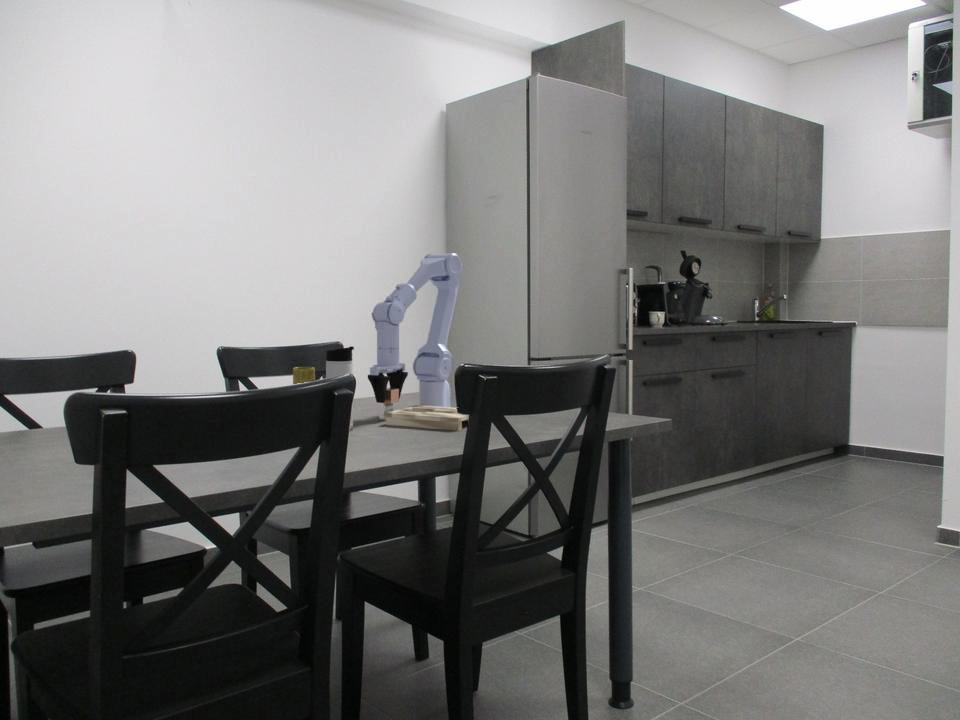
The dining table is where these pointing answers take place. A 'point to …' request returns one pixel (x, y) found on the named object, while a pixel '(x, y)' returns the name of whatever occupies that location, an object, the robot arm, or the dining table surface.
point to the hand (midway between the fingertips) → (388, 400)
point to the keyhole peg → (389, 401)
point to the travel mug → (340, 365)
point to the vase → (303, 374)
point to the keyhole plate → (427, 417)
